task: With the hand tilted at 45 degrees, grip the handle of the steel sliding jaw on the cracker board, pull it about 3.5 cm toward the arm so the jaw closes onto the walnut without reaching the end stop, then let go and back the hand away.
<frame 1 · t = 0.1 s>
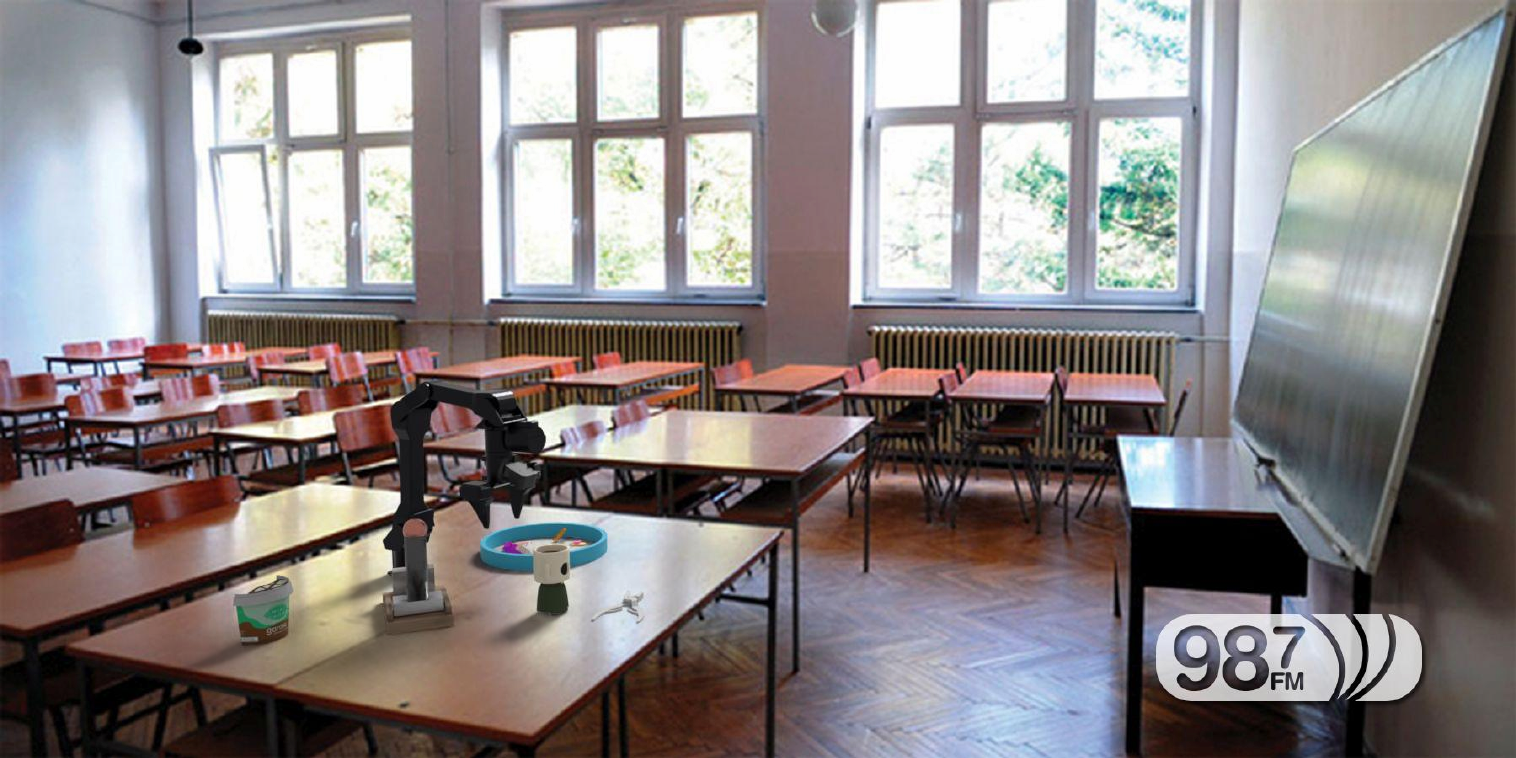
hand: (502, 523, 208), 15 cm above the table, tool pointing down, fingers open, 9 cm apart
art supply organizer: (545, 554, 238), on the table
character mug: (553, 612, 196), on the table
food container: (274, 638, 183), on the table
cracker board: (417, 613, 196), on the table
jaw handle: (416, 564, 190), point 11 cm above the table, slide at 0.0 cm
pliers: (625, 611, 198), on the table
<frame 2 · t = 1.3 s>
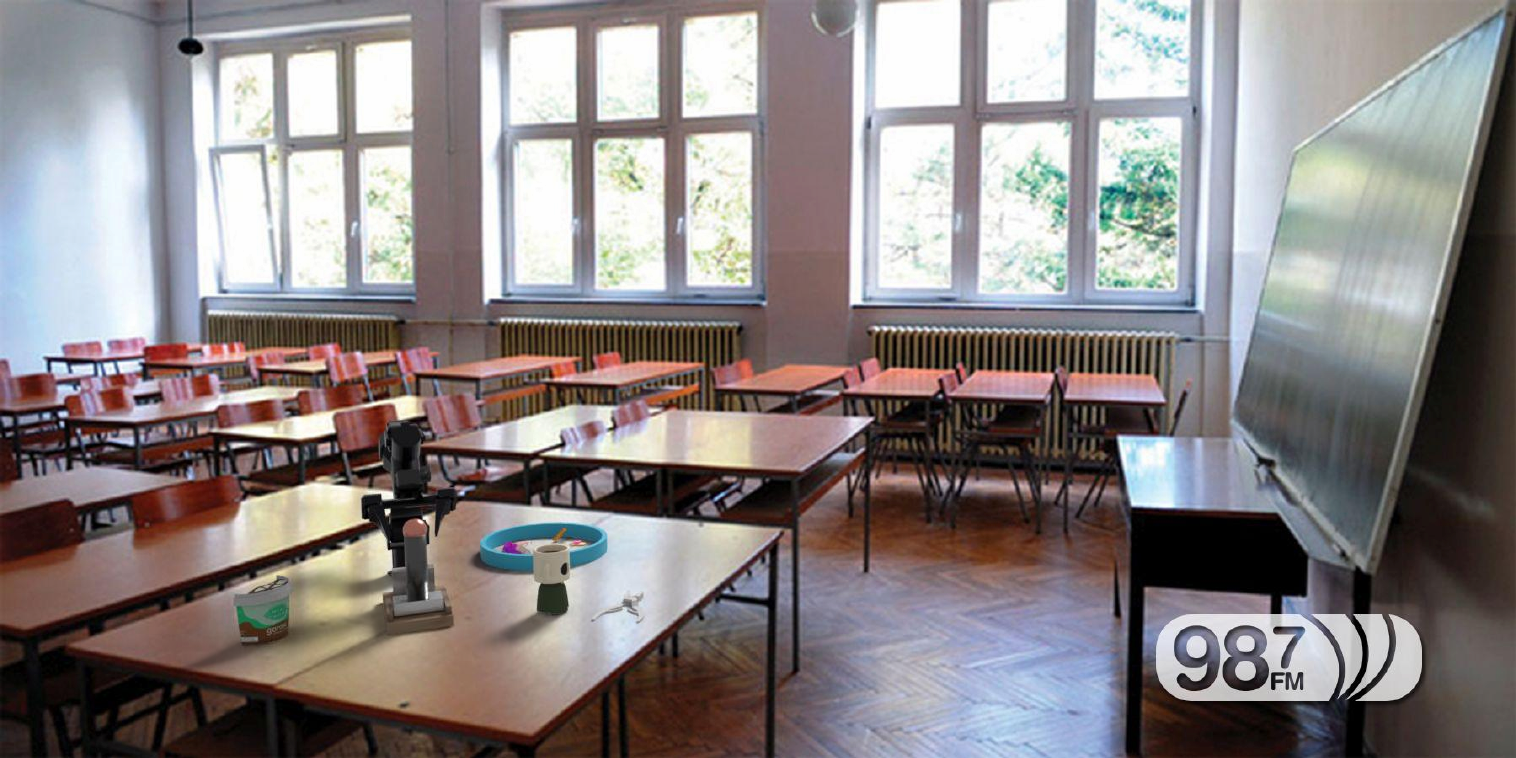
hand: (412, 538, 201), 13 cm above the table, tool tilted 45°, fingers open, 9 cm apart
nothing on the table moved.
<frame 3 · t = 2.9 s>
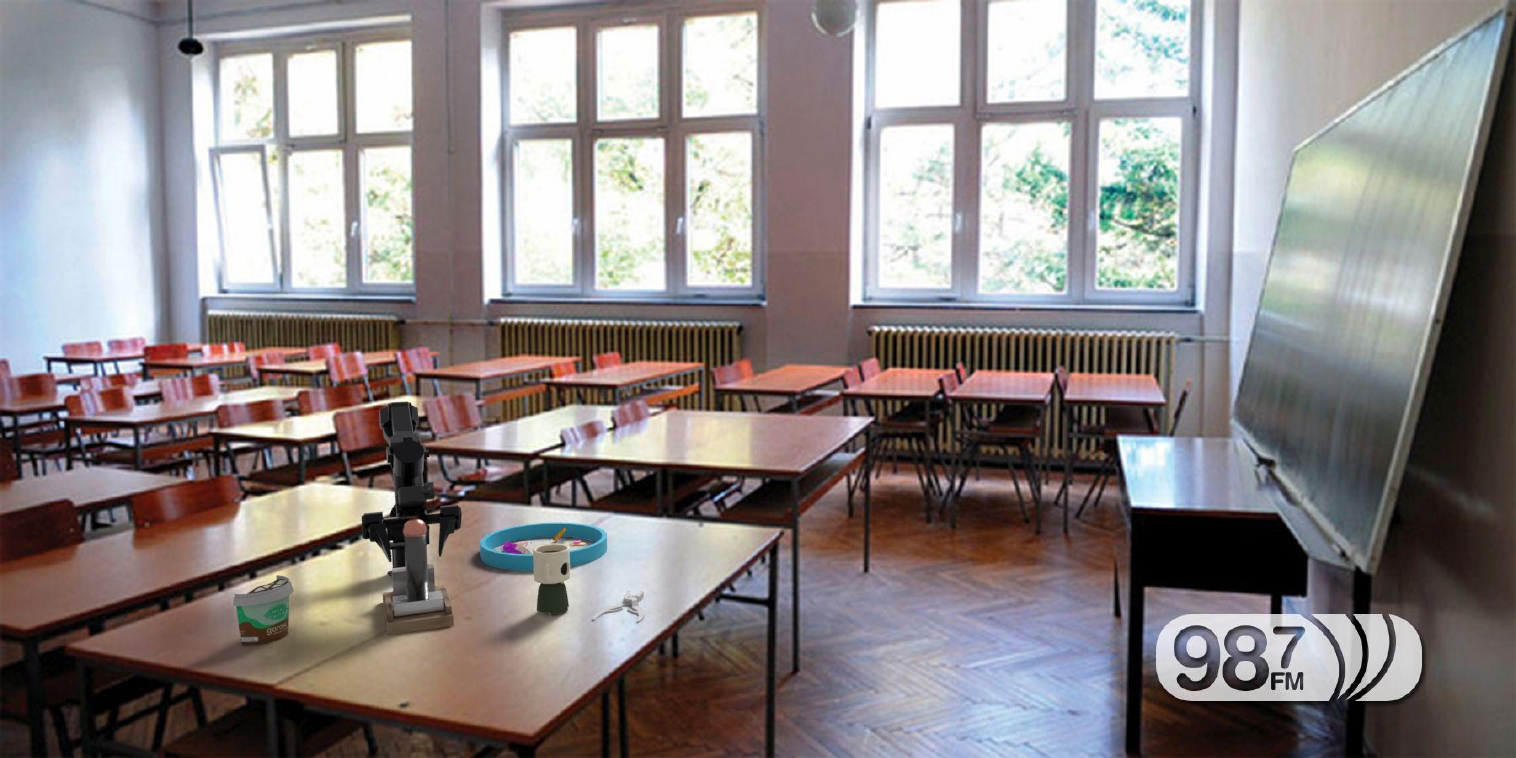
hand: (415, 558, 192), 12 cm above the table, tool tilted 45°, fingers open, 9 cm apart
nothing on the table moved.
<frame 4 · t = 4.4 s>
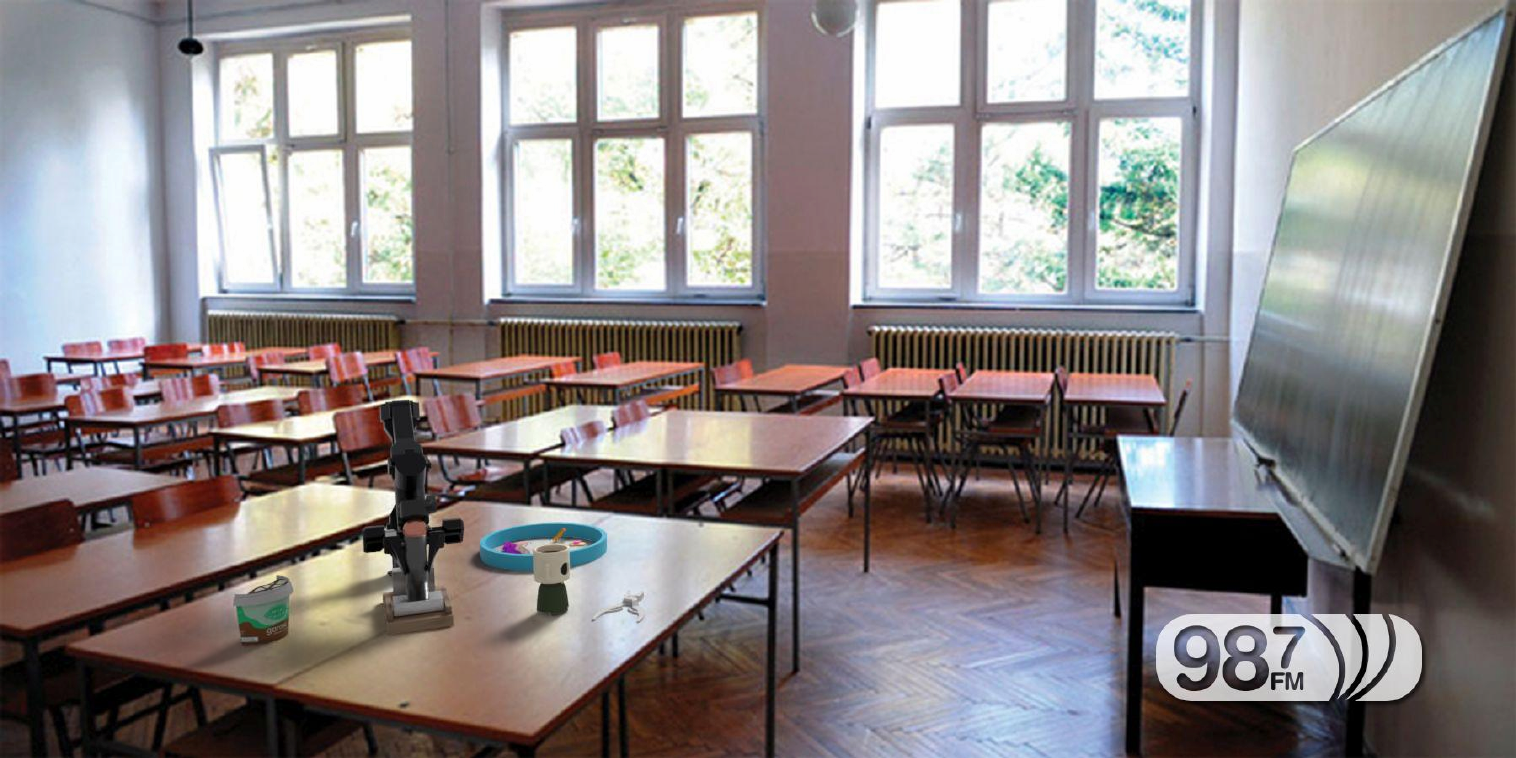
hand: (417, 573, 189), 10 cm above the table, tool tilted 45°, fingers closed on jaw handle, 4 cm apart
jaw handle: (416, 564, 190), point 11 cm above the table, slide at 0.0 cm, touching gripper
everything else where it was.
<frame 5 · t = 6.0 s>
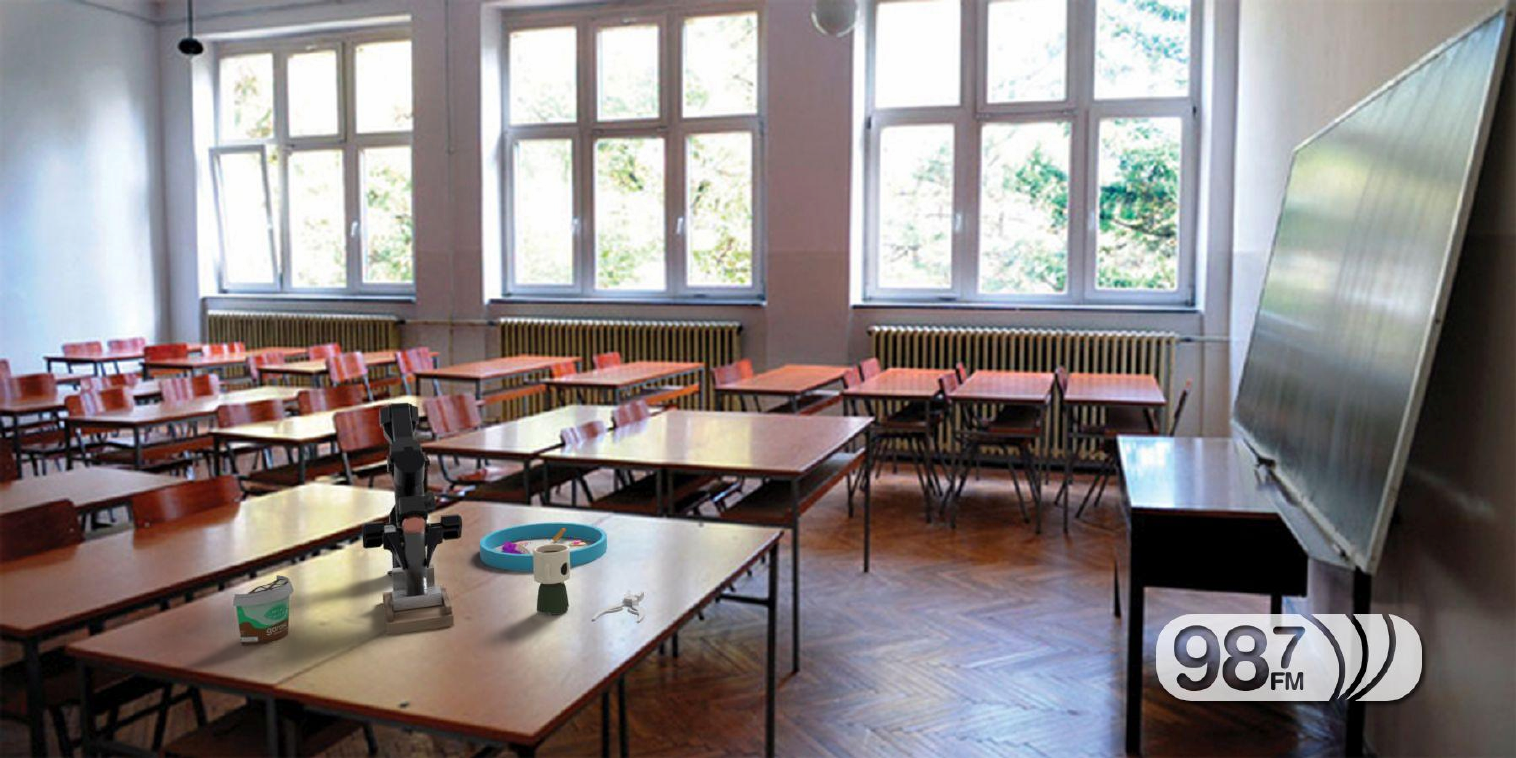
hand: (416, 568, 192), 10 cm above the table, tool tilted 45°, fingers closed on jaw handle, 4 cm apart
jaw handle: (415, 559, 193), point 11 cm above the table, slide at 3.4 cm, touching gripper
everything else where it was.
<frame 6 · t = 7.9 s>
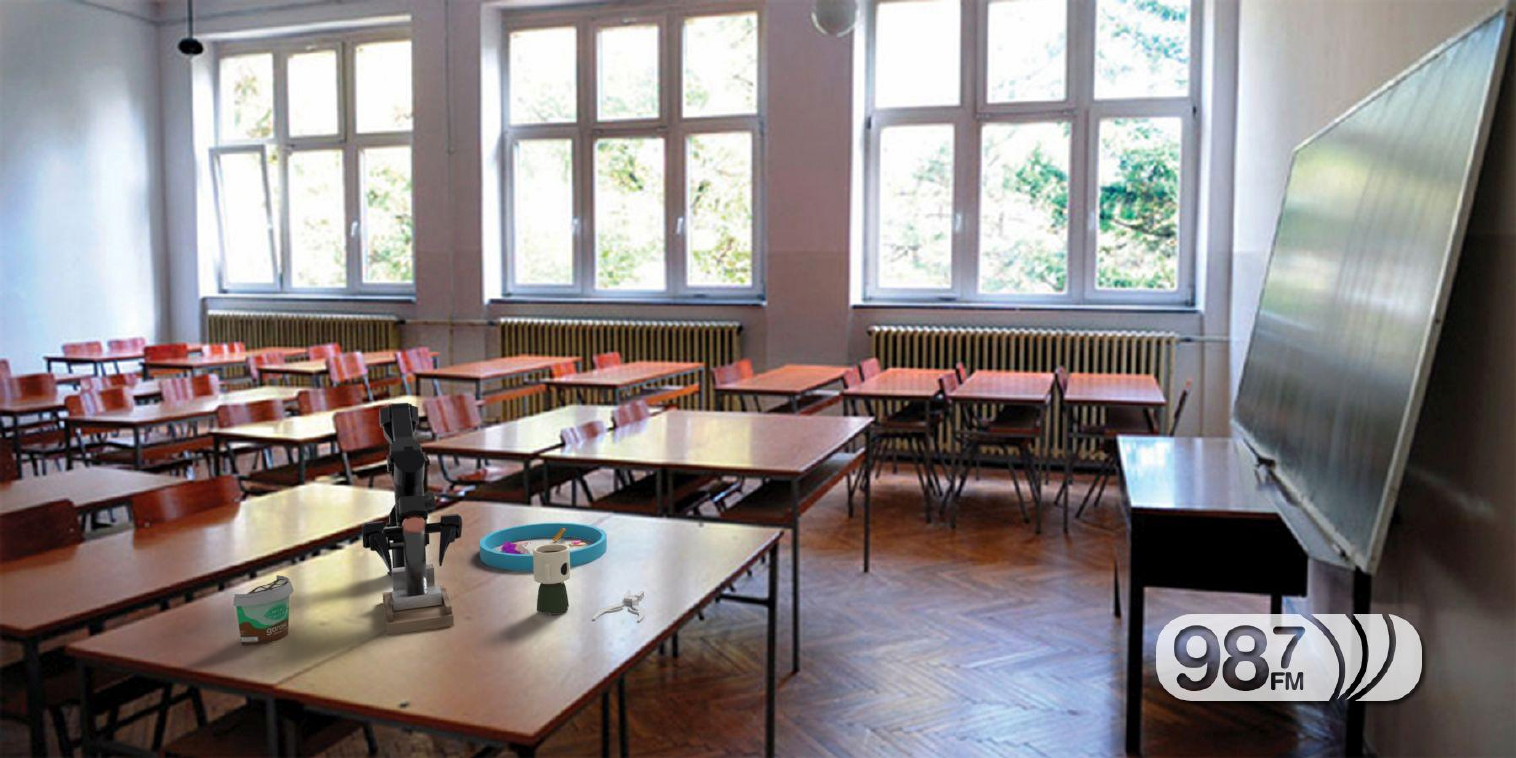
hand: (416, 568, 192), 10 cm above the table, tool tilted 45°, fingers open, 9 cm apart
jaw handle: (415, 559, 193), point 11 cm above the table, slide at 3.5 cm
everything else where it was.
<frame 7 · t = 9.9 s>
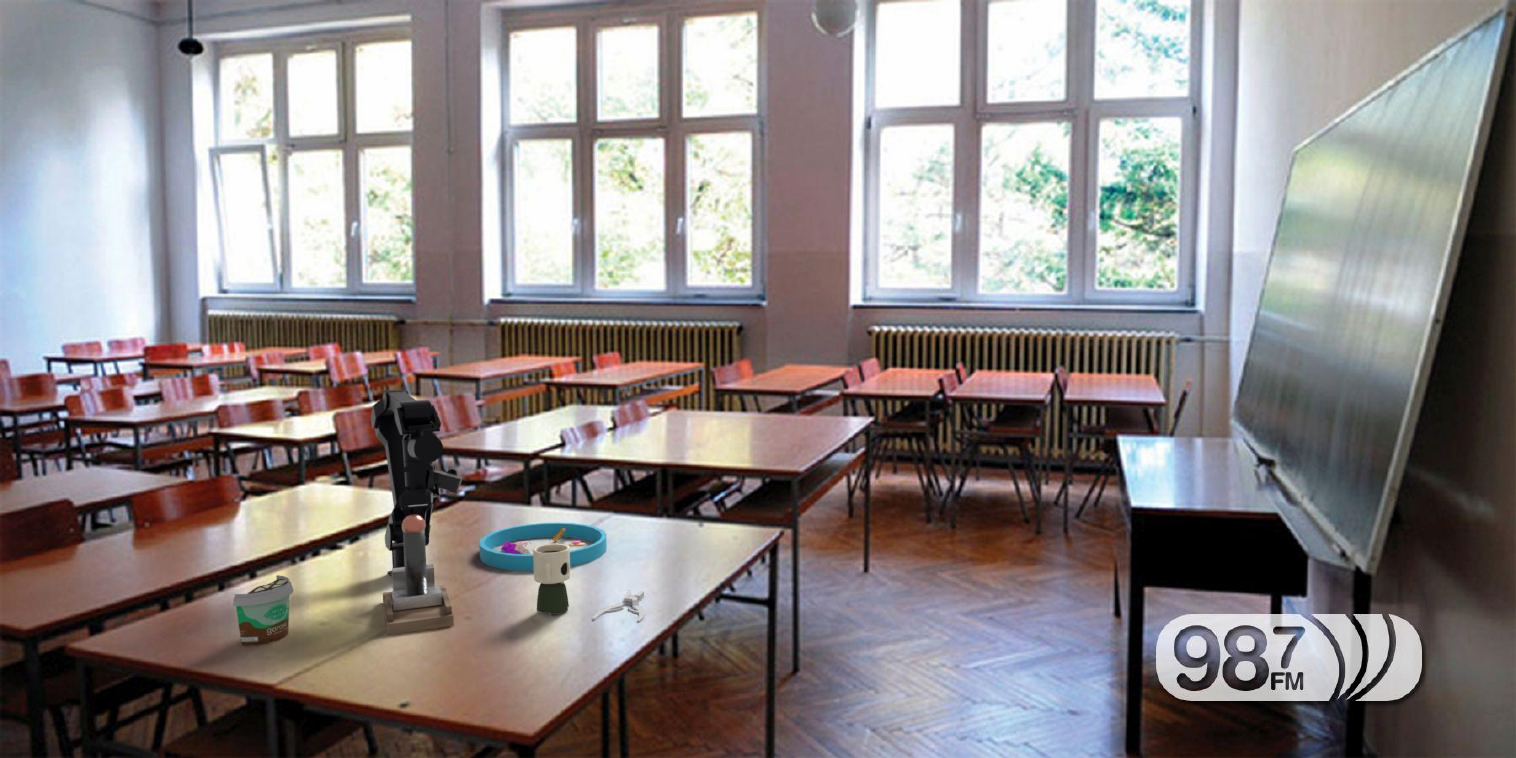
hand: (423, 534, 207), 13 cm above the table, tool pointing down, fingers open, 9 cm apart
nothing on the table moved.
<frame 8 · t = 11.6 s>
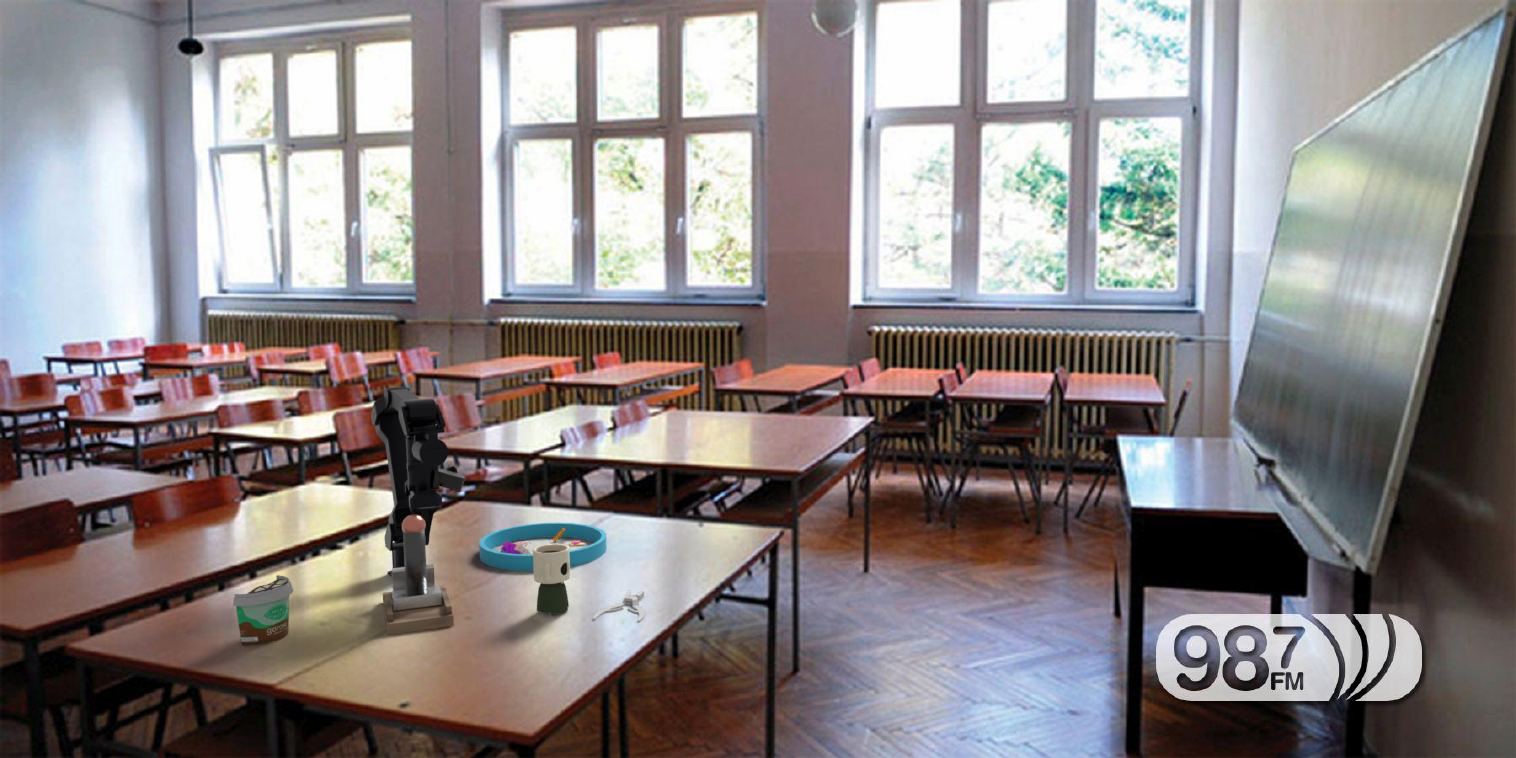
hand: (424, 532, 207), 13 cm above the table, tool pointing down, fingers open, 9 cm apart
nothing on the table moved.
at the end: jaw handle slide at 3.5 cm; the gripper is holding nothing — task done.
